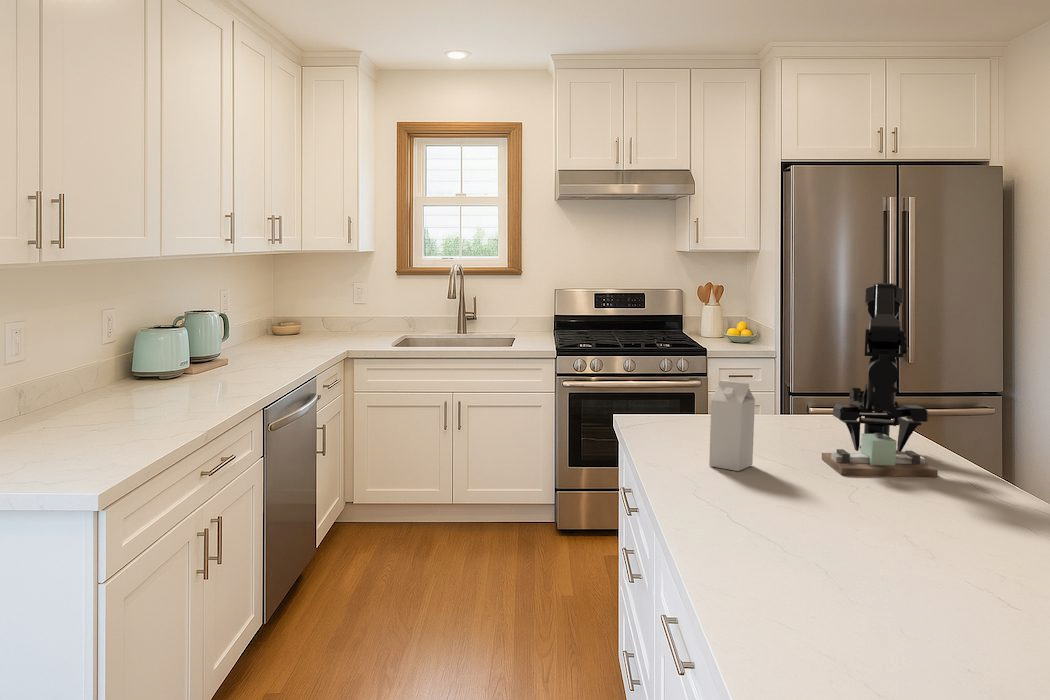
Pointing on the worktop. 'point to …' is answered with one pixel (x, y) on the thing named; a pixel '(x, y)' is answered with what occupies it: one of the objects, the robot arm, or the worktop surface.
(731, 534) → the worktop surface
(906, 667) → the worktop surface
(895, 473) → the rail board
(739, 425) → the milk carton
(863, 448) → the block
